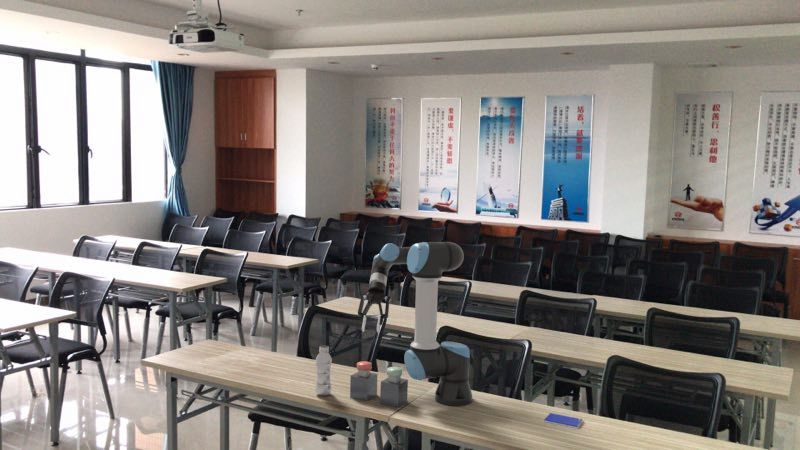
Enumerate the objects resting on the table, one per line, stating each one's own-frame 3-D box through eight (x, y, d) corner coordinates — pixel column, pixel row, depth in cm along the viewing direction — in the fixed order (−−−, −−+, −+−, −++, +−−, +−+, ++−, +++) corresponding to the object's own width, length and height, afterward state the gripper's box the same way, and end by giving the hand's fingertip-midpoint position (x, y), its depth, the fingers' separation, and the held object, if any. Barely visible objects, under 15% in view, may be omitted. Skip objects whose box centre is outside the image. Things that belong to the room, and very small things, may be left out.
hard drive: (582, 418, 259) (550, 412, 265) (577, 425, 252) (544, 419, 258) (582, 422, 260) (550, 416, 265) (577, 429, 252) (544, 423, 258)
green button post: (407, 401, 276) (407, 379, 275) (398, 407, 269) (398, 385, 268) (389, 397, 279) (390, 376, 279) (380, 403, 272) (380, 381, 272)
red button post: (376, 395, 282) (377, 373, 281) (367, 401, 275) (367, 379, 274) (360, 391, 286) (360, 370, 285) (350, 397, 279) (350, 375, 278)
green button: (404, 392, 275) (404, 368, 274) (397, 396, 270) (397, 372, 269) (391, 389, 278) (391, 366, 277) (383, 393, 272) (384, 369, 272)
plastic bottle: (328, 398, 277) (329, 349, 276) (312, 396, 279) (313, 348, 277) (333, 392, 284) (334, 345, 282) (317, 391, 285) (318, 344, 283)
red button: (373, 385, 281) (374, 362, 281) (366, 390, 276) (366, 366, 275) (361, 383, 284) (361, 360, 283) (353, 387, 279) (354, 364, 278)
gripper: (399, 291, 307) (392, 336, 292) (357, 289, 309) (349, 333, 295) (397, 281, 301) (391, 327, 286) (355, 279, 304) (347, 324, 289)
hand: (370, 330), depth 291 cm, fingers open, 6 cm apart
